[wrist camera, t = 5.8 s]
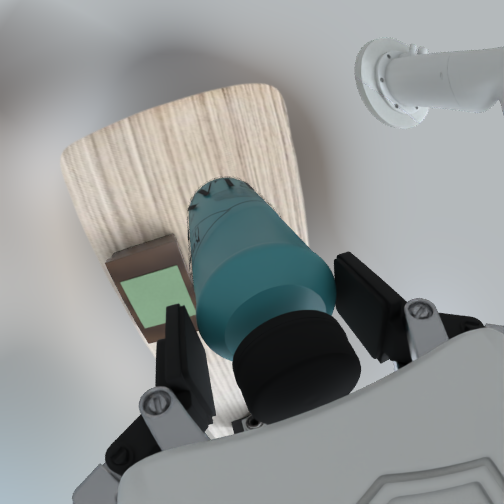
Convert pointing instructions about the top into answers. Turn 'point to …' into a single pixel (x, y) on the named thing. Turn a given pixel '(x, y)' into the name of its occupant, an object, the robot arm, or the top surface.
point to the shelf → (153, 283)
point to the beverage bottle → (266, 304)
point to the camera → (246, 424)
